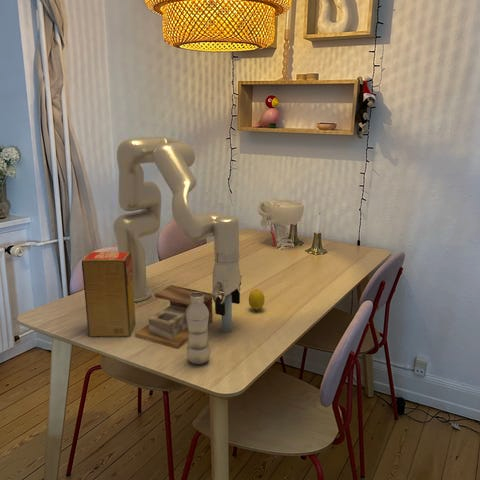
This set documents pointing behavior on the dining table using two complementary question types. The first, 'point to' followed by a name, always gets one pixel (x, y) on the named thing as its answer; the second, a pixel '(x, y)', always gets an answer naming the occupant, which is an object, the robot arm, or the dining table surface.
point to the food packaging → (109, 293)
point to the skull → (280, 218)
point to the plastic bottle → (197, 329)
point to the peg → (227, 314)
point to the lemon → (256, 299)
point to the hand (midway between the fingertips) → (227, 308)
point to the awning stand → (172, 317)
